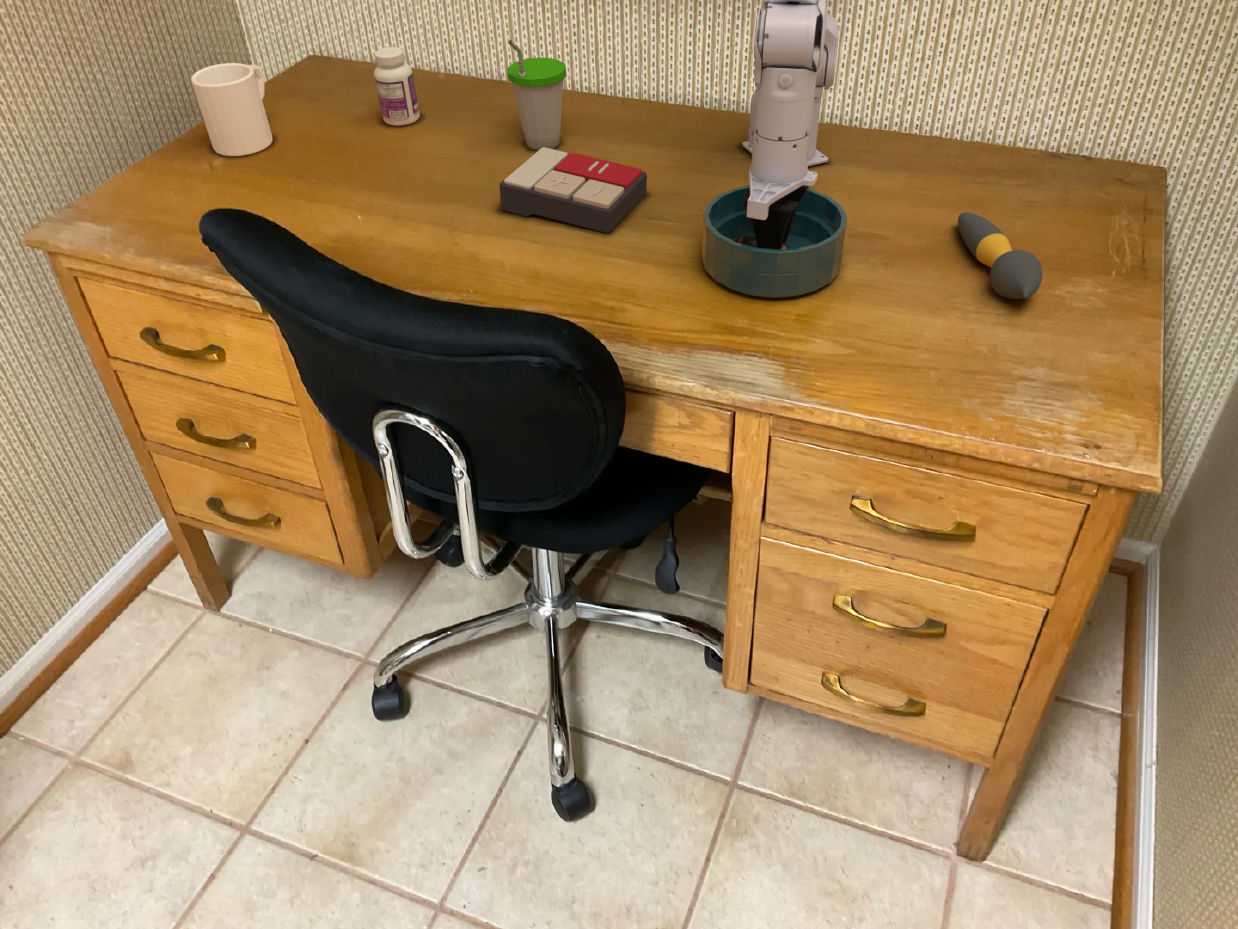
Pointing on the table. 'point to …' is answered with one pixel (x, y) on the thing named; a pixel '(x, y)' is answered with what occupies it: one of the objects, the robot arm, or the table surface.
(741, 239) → the brush
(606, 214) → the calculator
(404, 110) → the pill bottle
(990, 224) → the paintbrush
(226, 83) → the mug
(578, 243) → the table surface
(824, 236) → the bowl
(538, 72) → the cup
